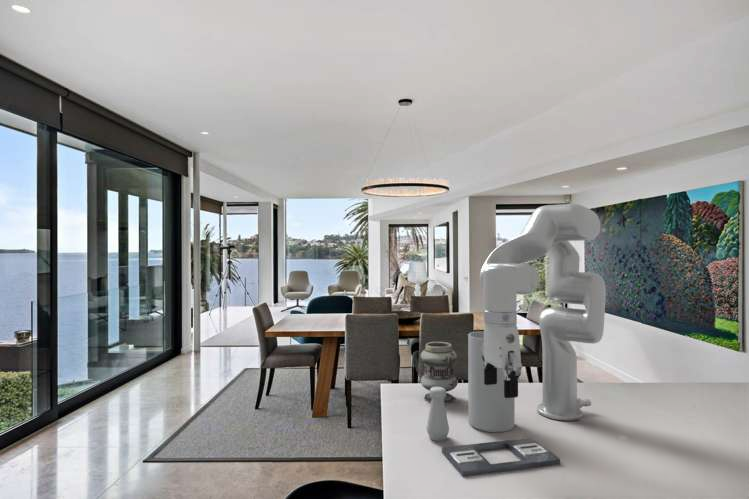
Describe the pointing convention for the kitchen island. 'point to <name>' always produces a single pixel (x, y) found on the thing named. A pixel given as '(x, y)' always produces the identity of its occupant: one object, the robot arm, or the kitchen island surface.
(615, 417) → the kitchen island surface
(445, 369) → the apothecary jar
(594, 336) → the robot arm
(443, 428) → the salt shaker
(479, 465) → the label board
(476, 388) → the cylinder vase
